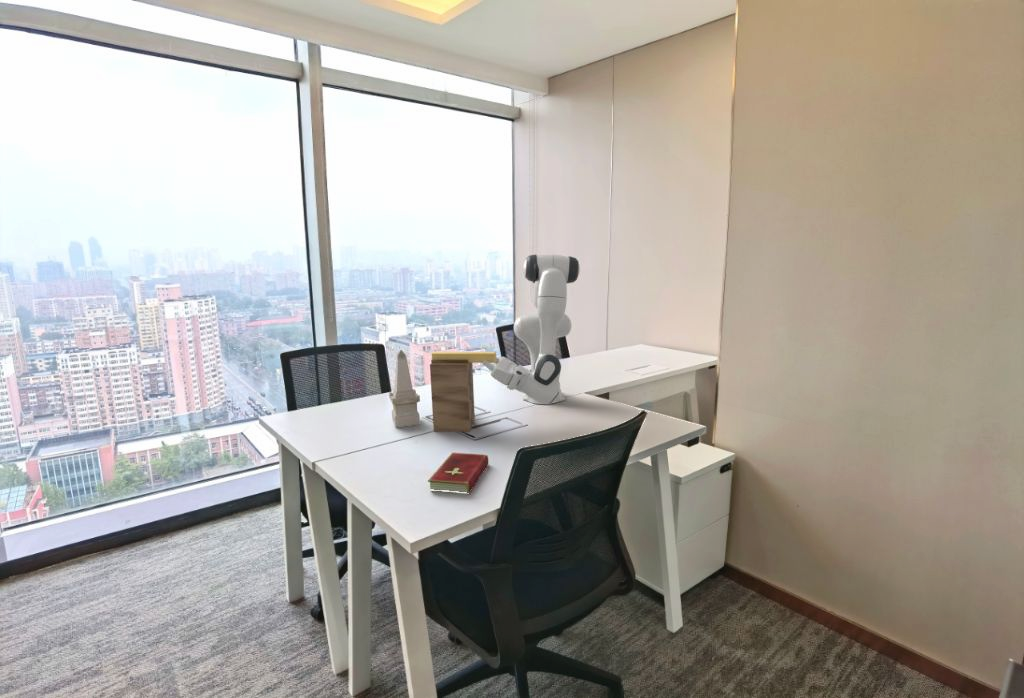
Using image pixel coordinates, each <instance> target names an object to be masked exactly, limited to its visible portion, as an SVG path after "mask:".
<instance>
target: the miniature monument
mask: <svg viewBox="0 0 1024 698" xmlns="http://www.w3.org/2000/svg"><path fill="white" fill-rule="evenodd" d="M395 362H396V363H395V364H396V365H395V377H394V388H393V390H392V392H391V391H389V392H388V396H389V400H390V402H391V404H392V410H391V417H392V418H391V419H392V420H393V421H392V422H394V423H393V425H394V427H399V428H403V427H402V426H407V427H413V426H412V425H414V426H420V425H421V421H420V420H421V418H420V413H419V411H418V403H420V402H421V399H420V397H421V396H420V395H419V394H418V393H417V391H416V389H415V388H413V384H412V379H411V373H410V368H409V363H408V358H407V355H406V353H405V352H404V351H403V350H402V349H400V350H399V352H397V353H396V361H395Z"/></svg>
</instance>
